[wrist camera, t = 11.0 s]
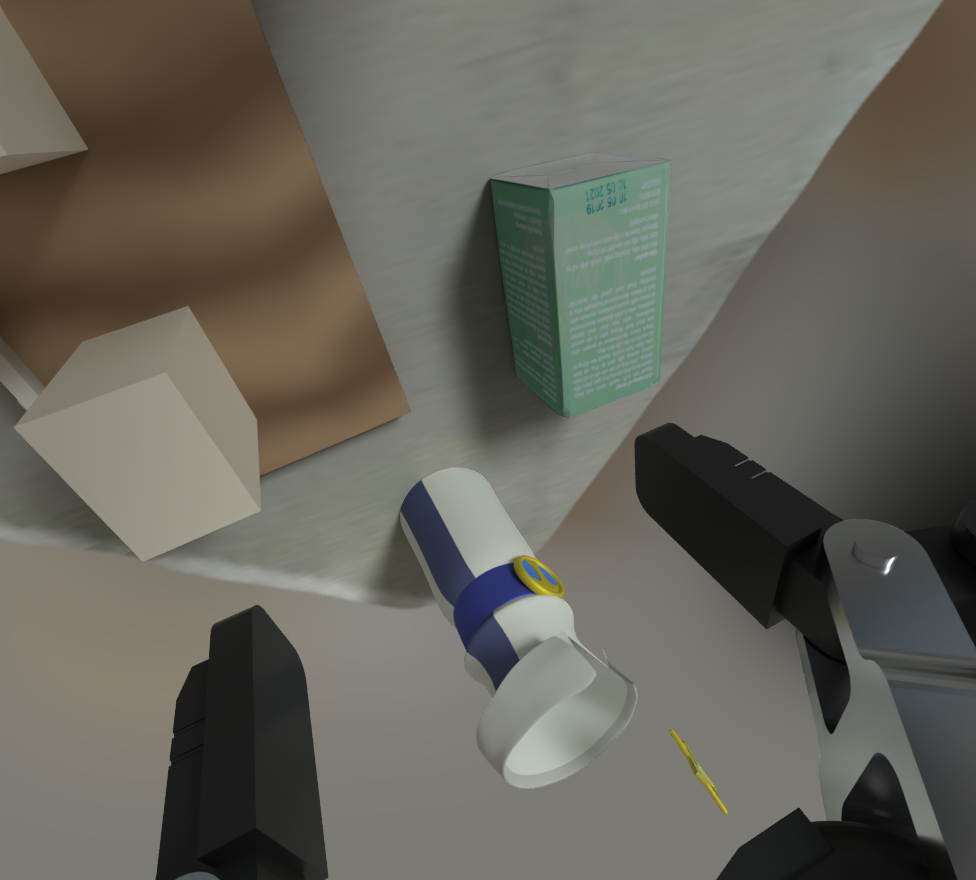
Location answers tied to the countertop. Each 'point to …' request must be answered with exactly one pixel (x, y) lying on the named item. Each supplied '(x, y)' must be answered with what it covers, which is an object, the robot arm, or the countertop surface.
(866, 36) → the countertop surface
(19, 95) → the faced carton
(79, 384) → the carton
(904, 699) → the robot arm
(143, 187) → the board
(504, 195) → the box
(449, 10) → the countertop surface
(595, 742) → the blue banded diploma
